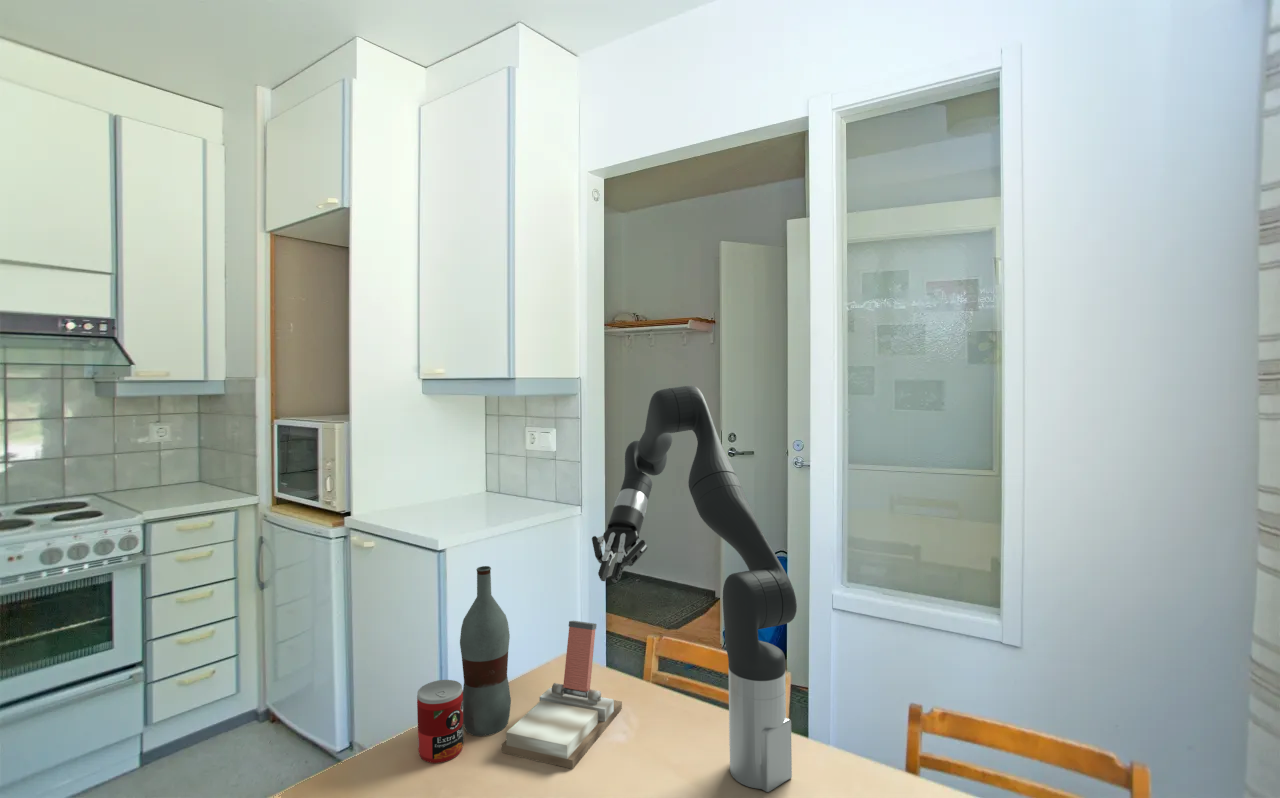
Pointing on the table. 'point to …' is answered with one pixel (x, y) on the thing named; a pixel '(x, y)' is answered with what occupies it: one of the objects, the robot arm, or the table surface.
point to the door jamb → (561, 727)
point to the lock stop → (579, 658)
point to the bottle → (485, 662)
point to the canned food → (440, 720)
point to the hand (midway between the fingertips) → (608, 579)
